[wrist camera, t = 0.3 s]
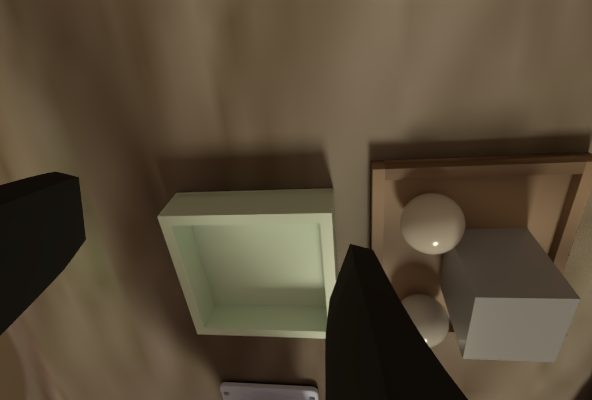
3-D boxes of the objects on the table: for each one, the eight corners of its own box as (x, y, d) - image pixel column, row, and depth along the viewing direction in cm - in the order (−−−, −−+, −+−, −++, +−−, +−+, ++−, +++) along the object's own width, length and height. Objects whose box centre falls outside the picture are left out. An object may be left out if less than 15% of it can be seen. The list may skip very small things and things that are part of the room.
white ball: (439, 318, 23) (451, 360, 20) (391, 317, 23) (396, 358, 21) (445, 283, 21) (458, 323, 19) (392, 282, 22) (399, 322, 19)
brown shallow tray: (531, 328, 23) (538, 341, 22) (370, 323, 24) (371, 336, 24) (589, 152, 17) (601, 161, 16) (371, 161, 18) (372, 169, 18)
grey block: (512, 285, 21) (555, 362, 17) (439, 284, 22) (462, 358, 17) (527, 228, 19) (580, 299, 15) (447, 229, 20) (475, 297, 15)
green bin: (339, 307, 24) (338, 338, 22) (209, 304, 25) (197, 334, 23) (333, 188, 20) (331, 213, 17) (176, 192, 21) (157, 216, 19)
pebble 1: (452, 230, 20) (469, 267, 17) (395, 231, 20) (402, 267, 17) (459, 181, 18) (478, 213, 15) (397, 182, 18) (406, 215, 16)
